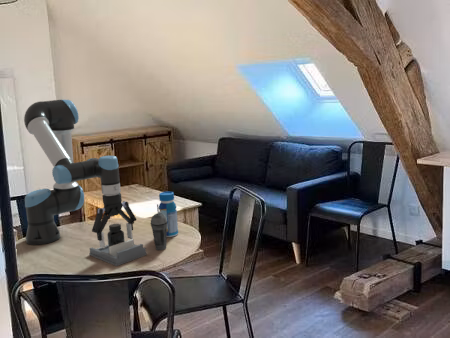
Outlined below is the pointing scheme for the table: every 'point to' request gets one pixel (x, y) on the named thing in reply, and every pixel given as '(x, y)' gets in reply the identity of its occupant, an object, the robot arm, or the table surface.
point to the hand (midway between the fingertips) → (116, 242)
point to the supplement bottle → (115, 235)
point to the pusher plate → (120, 247)
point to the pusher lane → (118, 254)
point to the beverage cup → (159, 230)
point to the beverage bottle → (169, 212)
